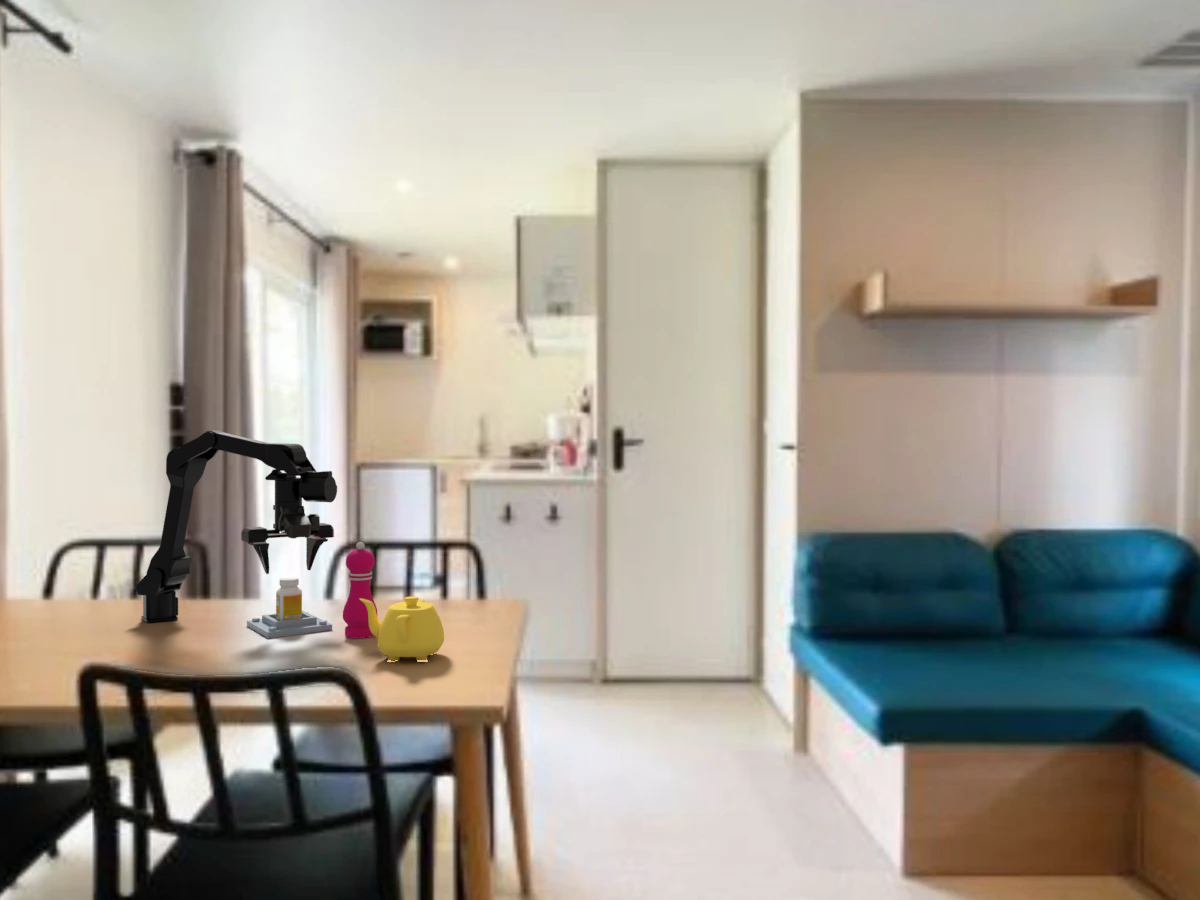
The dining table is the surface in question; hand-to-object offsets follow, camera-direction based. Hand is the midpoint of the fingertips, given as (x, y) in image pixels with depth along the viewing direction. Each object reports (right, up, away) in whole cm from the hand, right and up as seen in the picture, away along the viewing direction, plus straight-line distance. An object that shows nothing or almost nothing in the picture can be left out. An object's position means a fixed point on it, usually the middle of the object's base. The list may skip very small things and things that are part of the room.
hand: (288, 571), depth 208 cm
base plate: (0, -12, 0) cm, 12 cm away
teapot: (+30, -14, -24) cm, 40 cm away
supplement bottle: (0, -11, 0) cm, 11 cm away
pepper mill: (+17, -13, -6) cm, 22 cm away
